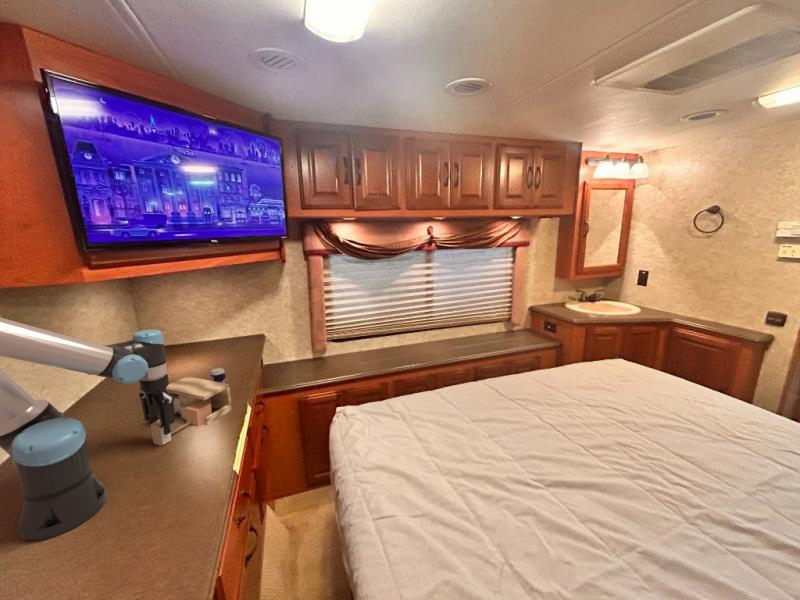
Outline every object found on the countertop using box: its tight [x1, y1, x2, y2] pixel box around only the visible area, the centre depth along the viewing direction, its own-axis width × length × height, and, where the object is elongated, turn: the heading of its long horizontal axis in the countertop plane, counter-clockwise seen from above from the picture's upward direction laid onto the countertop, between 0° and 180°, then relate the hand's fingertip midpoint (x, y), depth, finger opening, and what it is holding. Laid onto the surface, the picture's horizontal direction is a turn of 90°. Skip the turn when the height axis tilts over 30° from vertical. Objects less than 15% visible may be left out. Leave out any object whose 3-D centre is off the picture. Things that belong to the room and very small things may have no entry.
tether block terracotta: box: [150, 401, 213, 446], centre depth 115 cm, size 19×6×7 cm, turn 161°
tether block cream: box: [157, 396, 181, 421], centre depth 124 cm, size 15×6×7 cm, turn 161°
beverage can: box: [209, 367, 227, 384], centre depth 140 cm, size 6×6×12 cm
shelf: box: [166, 376, 233, 425], centre depth 126 cm, size 11×23×11 cm, turn 71°
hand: (162, 440), depth 108 cm, fingers closed on tether block terracotta, 3 cm apart
